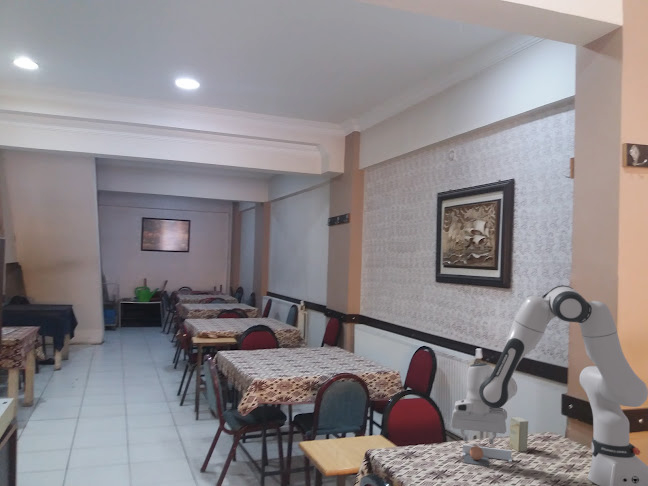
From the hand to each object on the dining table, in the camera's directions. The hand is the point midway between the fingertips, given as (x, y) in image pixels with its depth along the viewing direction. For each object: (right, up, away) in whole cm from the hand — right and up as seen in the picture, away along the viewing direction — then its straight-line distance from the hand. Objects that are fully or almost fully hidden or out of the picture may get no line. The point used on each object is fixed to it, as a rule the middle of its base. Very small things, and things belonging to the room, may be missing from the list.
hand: (478, 442), depth 197 cm
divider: (+4, -7, +3) cm, 9 cm away
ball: (-1, -6, -1) cm, 6 cm away
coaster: (-1, -7, -1) cm, 7 cm away
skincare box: (+21, -8, +14) cm, 26 cm away
